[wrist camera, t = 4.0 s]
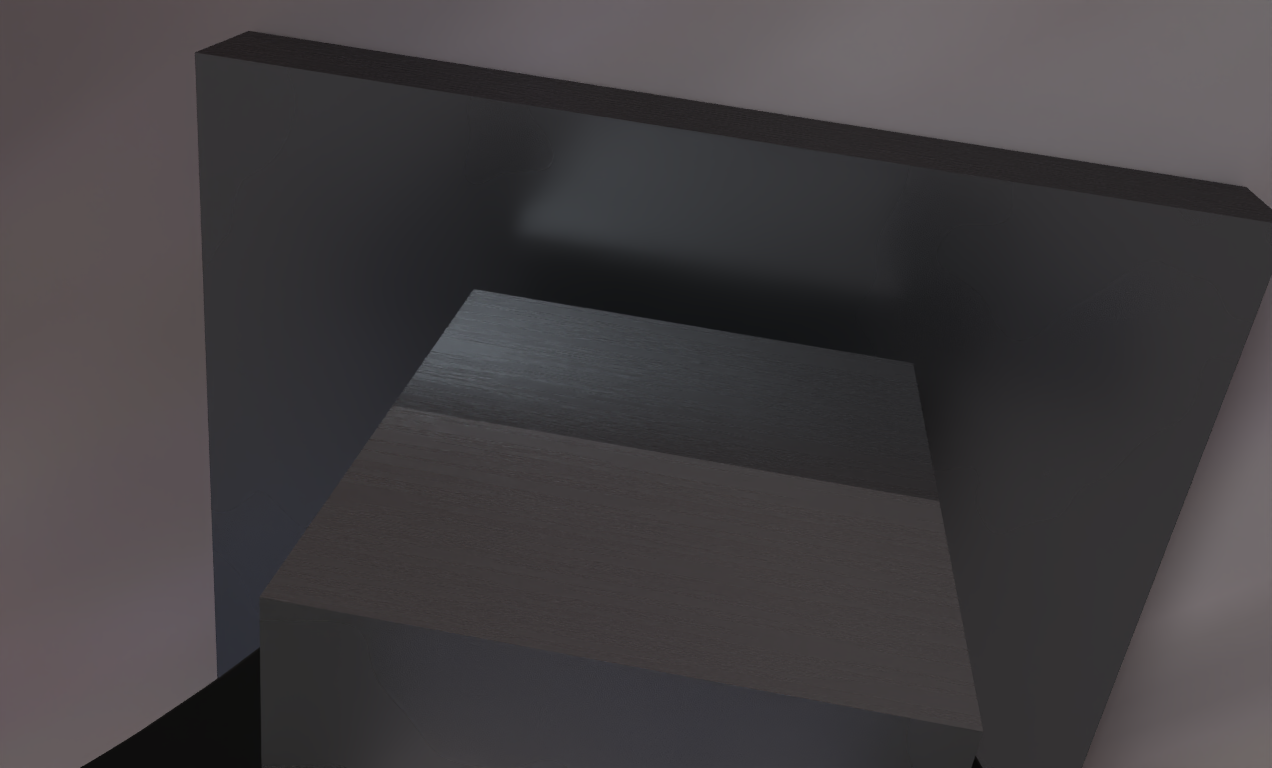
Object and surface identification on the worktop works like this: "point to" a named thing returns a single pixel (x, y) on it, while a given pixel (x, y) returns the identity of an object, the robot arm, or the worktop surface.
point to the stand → (730, 314)
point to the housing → (625, 562)
